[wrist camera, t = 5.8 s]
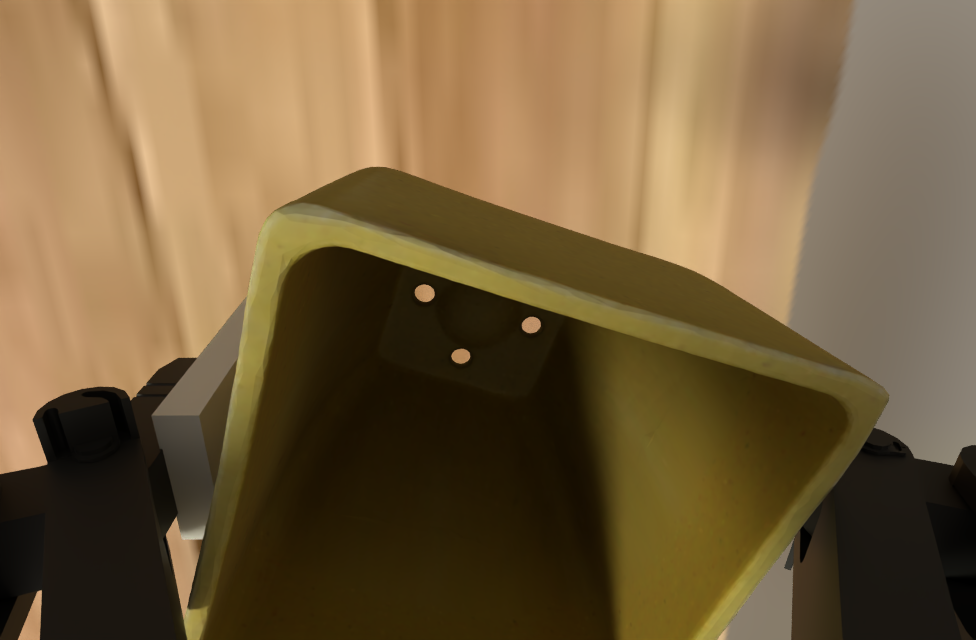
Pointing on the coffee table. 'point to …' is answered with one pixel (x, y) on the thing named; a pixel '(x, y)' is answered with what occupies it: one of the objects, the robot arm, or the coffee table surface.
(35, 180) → the coffee table surface
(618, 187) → the coffee table surface
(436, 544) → the flower pot
